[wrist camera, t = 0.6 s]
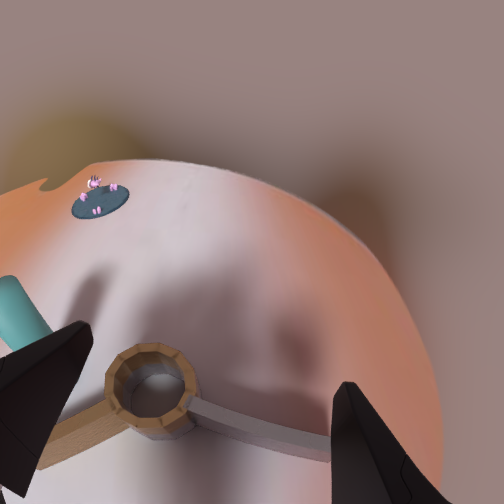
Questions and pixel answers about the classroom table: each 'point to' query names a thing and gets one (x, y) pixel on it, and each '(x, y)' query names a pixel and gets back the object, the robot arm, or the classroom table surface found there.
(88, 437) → the bronze hinge leaf
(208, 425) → the steel hinge leaf
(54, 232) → the classroom table surface
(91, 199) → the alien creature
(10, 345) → the teal hinge pin
